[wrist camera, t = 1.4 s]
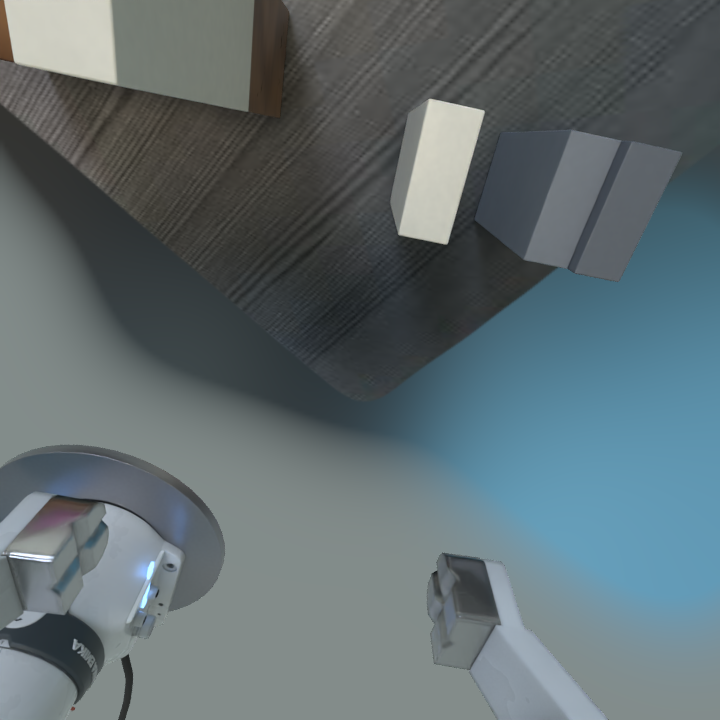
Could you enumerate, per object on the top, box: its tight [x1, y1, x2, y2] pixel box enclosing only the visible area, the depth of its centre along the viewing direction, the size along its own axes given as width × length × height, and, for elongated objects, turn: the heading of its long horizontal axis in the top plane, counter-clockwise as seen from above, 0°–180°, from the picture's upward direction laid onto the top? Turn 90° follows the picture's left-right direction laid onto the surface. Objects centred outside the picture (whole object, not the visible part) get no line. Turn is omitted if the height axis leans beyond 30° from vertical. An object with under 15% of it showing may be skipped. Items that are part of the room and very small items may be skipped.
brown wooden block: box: [0, 0, 289, 118], centre depth 23 cm, size 6×16×10 cm, turn 79°
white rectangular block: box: [390, 99, 485, 245], centre depth 25 cm, size 6×3×12 cm, turn 169°
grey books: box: [474, 130, 682, 282], centre depth 25 cm, size 6×5×13 cm
